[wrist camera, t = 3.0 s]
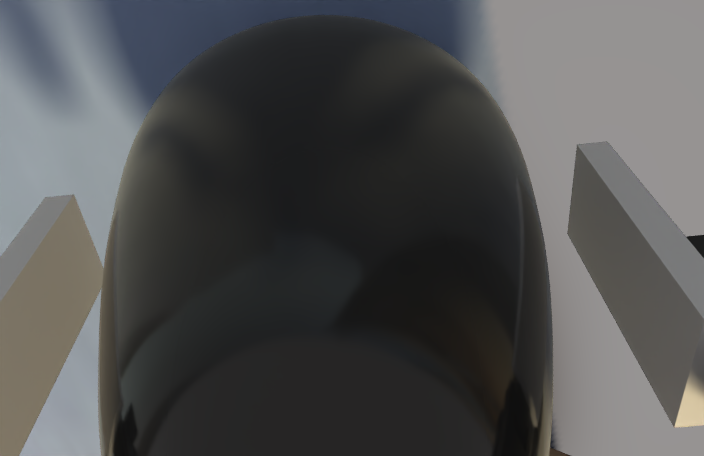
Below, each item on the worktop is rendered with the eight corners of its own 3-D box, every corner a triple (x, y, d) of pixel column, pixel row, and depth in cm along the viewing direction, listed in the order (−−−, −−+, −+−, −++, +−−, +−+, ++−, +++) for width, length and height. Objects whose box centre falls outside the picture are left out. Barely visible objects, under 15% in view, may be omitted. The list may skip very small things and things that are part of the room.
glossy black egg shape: (138, 240, 22) (-131, 854, 9) (198, -78, 16) (-270, 328, 3) (414, 307, 24) (516, 882, 11) (548, 45, 18) (1050, 578, 6)
